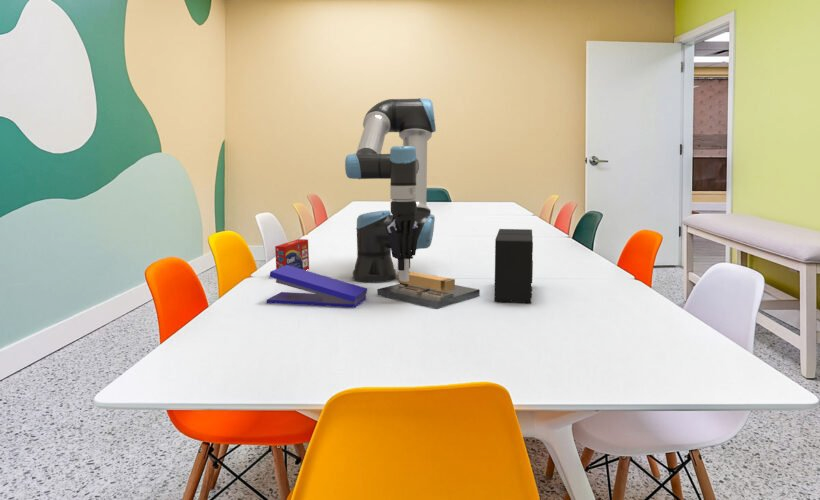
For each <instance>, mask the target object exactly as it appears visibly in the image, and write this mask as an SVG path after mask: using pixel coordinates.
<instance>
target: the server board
mask: <svg viewBox="0 0 820 500" xmlns="http://www.w3.org/2000/svg"><path fill="white" fill-rule="evenodd" d="M376 291H377V294H376V295H377V297H378V296H379V297H383V298H388V299H392V300H397V301H401V302H406V303H410V304H414V305H418V306H419V305H420V306H424V307H428V308H431V309H432V308H433V309H437V310H438V309H440V308H444V307H448V306H452V305H455V304H457V303H461V302H464V301H468V300H471V299H475V298H477V297H480V295H481V294H480V289H479V288H473V287H468V286H462V285H457V284H455V289H454V290H450V291H441V290H436V289H431V288H425V287H420V286H415V285H410V284H403V283H397V284H393V285H389V286H384V287H381V288H377V290H376Z"/></svg>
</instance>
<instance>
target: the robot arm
mask: <svg viewBox="0 0 820 500" xmlns="http://www.w3.org/2000/svg"><path fill="white" fill-rule="evenodd" d="M435 121H436V120H435V111H434V105H433V100H431V99H430V98H421V97H419V98H390V99H389V98H388V99H385V100H381V101H380V102H378V103H376V104H375V105H374V106H372V107H371V108H370V109H369V110H368V111H367V112H366V113H365V116H364V117H363V122H362V127H363V130H362V134H361V137H360V138H359V139H360V141H359V143H358V146H357V150H356V152H355V153H350V154H347V155H346V156H345V160H344V163H345V164H344V168H345V170H344V171H345V175H346V177H347V179H351V180H352V179H353V180H354V179H355V180H368V179H369V180H372V179H374V180H377V179H378V180H380V179H381V180H382V179H383V180H390V183H389V184H390V185H389V187H390V189H389V190H390V193H389V195H390V196H389V197H390V199H391V200H392V201H390V210H379V211H372V212H365V213H362V214H360V215H357V218H356V227H355V230H356V247H357V248H356V260H355V265H354V269H353V270H352V280H354V281H356V282H361V283H384V282H390V281H394V280H396V279H397V270H396V269H395V265H394V262H393V259H392V258H394V259H397V269H398V272H399V281H404V282H407V281H409V271H410V269H411V260H413V259H414V256H416V252H417V250H420V249H428V248H430V246H431V245H432V241H433V238H434V237H433V236H434V230H435V220H436V218H435V215H434V214H432V213H431V212H432V211H431V209H430V208H429V206H427V183H428V181H427V177H428V175H427V173H428V172H427V171H428V141H430V139H431V138H432V135H433V133H435V132H436V131H437V130H436V122H435ZM388 133H398V137H399V138H400V139H401V140H402V145H394V146H391V148H390V151H389V152H390V153H382V149H383V146H384V140H385V137H386V135H388Z"/></svg>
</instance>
